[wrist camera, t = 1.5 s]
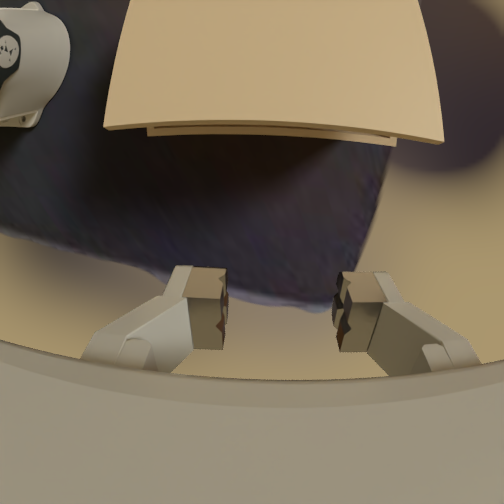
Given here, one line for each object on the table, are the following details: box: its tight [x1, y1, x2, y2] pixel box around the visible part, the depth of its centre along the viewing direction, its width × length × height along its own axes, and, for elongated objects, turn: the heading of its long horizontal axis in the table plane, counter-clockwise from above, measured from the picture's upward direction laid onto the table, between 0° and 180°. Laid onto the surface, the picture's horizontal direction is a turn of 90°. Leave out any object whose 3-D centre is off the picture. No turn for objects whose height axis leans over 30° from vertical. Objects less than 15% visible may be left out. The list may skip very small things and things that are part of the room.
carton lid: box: [103, 0, 444, 145], centre depth 16 cm, size 20×16×1 cm
